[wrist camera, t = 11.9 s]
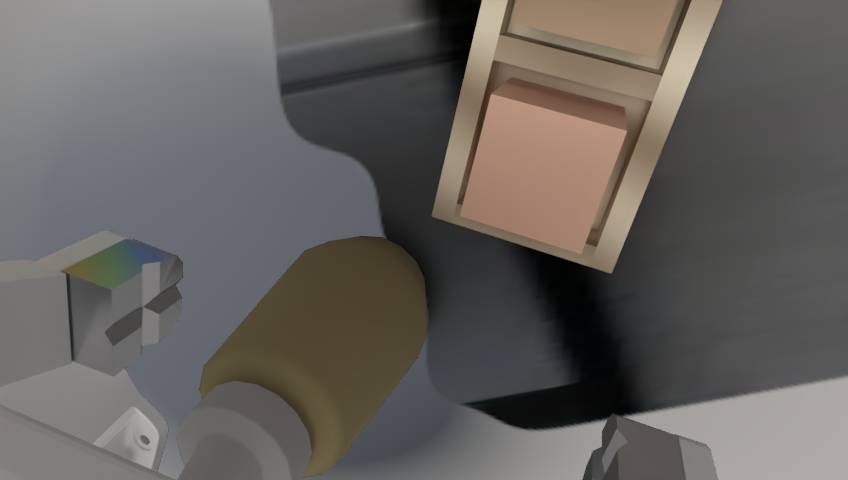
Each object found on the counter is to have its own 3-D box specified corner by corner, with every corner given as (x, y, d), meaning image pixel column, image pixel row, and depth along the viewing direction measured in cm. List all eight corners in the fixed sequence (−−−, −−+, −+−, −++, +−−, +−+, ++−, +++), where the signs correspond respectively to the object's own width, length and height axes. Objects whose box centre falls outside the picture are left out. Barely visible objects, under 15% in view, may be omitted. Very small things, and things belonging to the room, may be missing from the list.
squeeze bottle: (474, 308, 32) (338, 623, 16) (368, 362, 35) (170, 663, 19) (388, 188, 30) (147, 400, 15) (287, 257, 34) (5, 486, 18)
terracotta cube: (586, 211, 27) (581, 254, 22) (483, 180, 28) (459, 215, 23) (624, 107, 25) (627, 131, 20) (512, 77, 26) (491, 94, 21)
